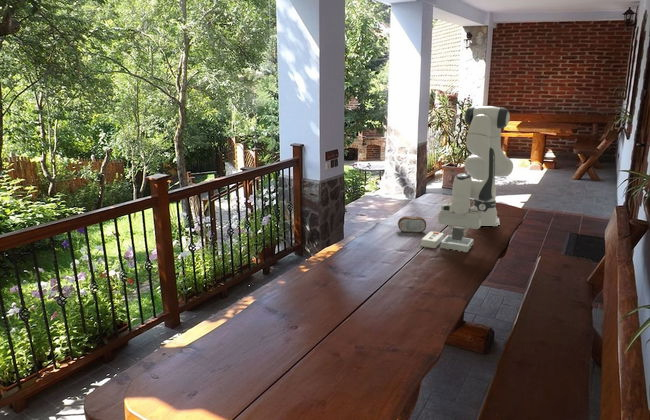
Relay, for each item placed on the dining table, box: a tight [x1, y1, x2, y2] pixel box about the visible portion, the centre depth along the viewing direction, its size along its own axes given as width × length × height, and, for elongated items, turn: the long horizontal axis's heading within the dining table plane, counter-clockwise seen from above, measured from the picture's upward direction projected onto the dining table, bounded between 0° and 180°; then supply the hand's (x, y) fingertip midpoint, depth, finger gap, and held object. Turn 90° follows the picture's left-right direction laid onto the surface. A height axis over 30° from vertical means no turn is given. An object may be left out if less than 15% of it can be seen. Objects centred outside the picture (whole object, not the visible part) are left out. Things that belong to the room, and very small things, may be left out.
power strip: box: [420, 230, 445, 249], centre depth 249 cm, size 21×7×4 cm, turn 151°
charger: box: [451, 226, 465, 242], centre depth 241 cm, size 4×4×7 cm
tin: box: [397, 215, 427, 234], centre depth 263 cm, size 15×3×8 cm, turn 84°
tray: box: [439, 234, 474, 253], centre depth 242 cm, size 13×13×3 cm
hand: (457, 234), depth 241 cm, fingers closed on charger, 4 cm apart
